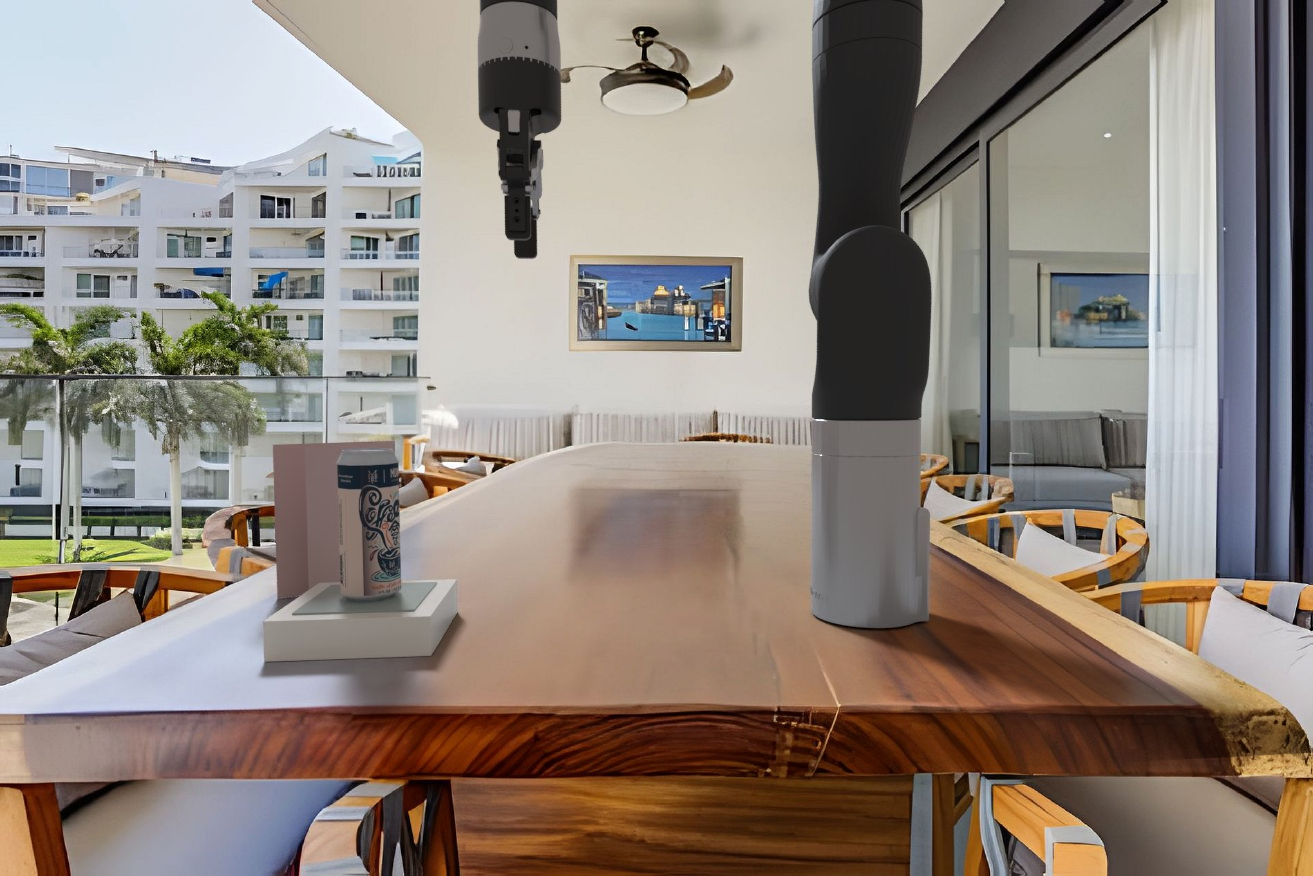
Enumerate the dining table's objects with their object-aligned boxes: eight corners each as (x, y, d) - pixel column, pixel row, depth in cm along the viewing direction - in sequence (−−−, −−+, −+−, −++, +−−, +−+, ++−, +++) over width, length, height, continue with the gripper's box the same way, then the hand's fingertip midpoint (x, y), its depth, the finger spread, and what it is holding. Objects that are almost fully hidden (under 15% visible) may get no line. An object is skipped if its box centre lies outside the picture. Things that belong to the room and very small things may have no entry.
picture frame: (457, 612, 69) (457, 577, 69) (431, 655, 57) (430, 614, 57) (320, 616, 68) (319, 581, 68) (264, 661, 56) (262, 619, 56)
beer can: (381, 605, 60) (377, 451, 59) (326, 602, 61) (322, 451, 60) (412, 590, 65) (409, 448, 64) (361, 587, 66) (358, 447, 65)
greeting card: (396, 581, 81) (392, 440, 81) (413, 596, 75) (410, 443, 74) (276, 596, 76) (271, 444, 75) (284, 614, 69) (279, 447, 68)
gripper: (558, 36, 64) (560, 233, 65) (563, 102, 78) (565, 263, 79) (466, 32, 63) (469, 232, 64) (488, 100, 77) (490, 262, 78)
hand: (522, 249), depth 71 cm, fingers open, 8 cm apart
